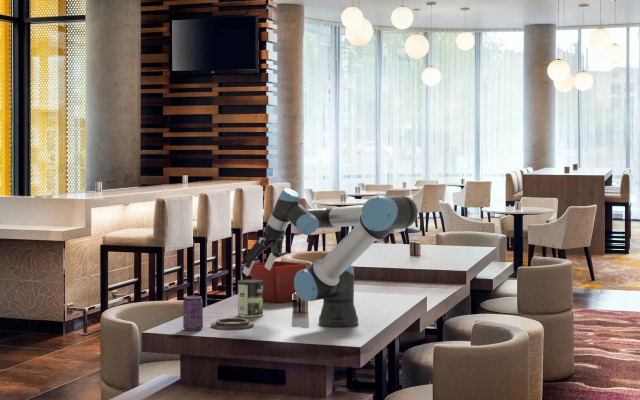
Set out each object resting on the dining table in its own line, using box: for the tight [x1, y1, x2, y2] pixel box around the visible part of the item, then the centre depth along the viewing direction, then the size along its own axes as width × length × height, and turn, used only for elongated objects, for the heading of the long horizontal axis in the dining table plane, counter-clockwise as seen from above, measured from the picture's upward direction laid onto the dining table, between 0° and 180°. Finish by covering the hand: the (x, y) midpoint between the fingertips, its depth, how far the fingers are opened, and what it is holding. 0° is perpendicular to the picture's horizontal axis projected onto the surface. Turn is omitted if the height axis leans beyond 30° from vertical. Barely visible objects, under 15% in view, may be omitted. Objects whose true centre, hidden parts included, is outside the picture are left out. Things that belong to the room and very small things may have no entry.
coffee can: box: [237, 278, 264, 318], centre depth 337 cm, size 10×10×14 cm
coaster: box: [210, 317, 255, 331], centre depth 312 cm, size 16×16×2 cm
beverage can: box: [182, 295, 204, 332], centre depth 305 cm, size 7×7×12 cm
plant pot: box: [249, 260, 307, 304], centre depth 377 cm, size 19×19×17 cm
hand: (256, 271), depth 328 cm, fingers open, 13 cm apart
